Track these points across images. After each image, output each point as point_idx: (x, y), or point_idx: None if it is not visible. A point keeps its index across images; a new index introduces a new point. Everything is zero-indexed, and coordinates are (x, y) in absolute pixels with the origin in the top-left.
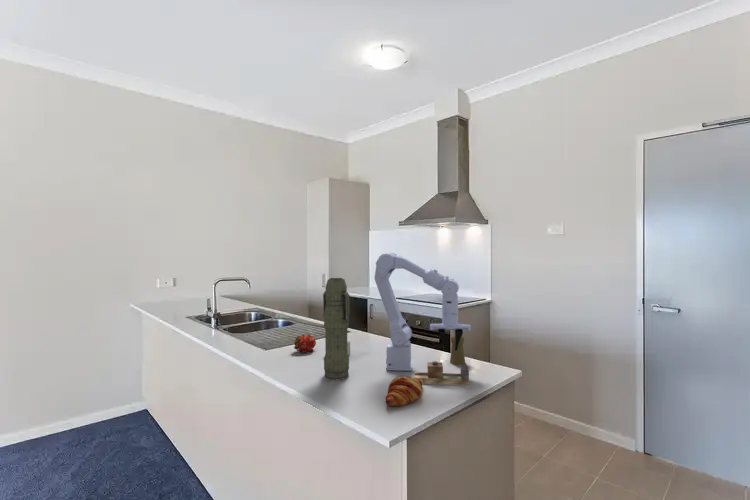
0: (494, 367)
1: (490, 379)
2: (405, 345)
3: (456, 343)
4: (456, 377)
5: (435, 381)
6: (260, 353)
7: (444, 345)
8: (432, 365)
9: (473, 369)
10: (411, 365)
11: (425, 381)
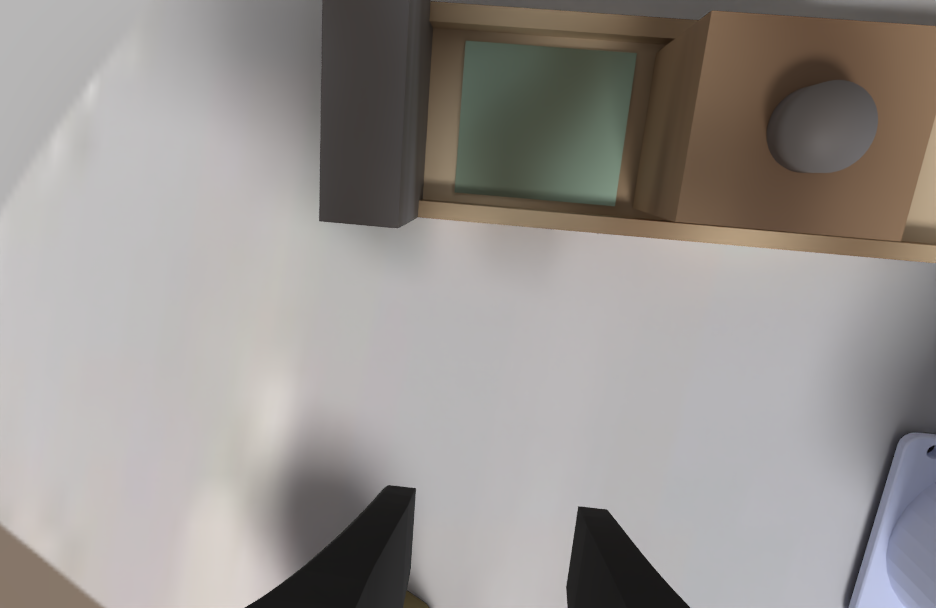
0: (58, 514)
1: (134, 195)
2: None
3: (365, 552)
4: (478, 149)
5: None
6: None
7: (622, 554)
8: (868, 69)
9: (256, 469)
10: (876, 561)
11: None
